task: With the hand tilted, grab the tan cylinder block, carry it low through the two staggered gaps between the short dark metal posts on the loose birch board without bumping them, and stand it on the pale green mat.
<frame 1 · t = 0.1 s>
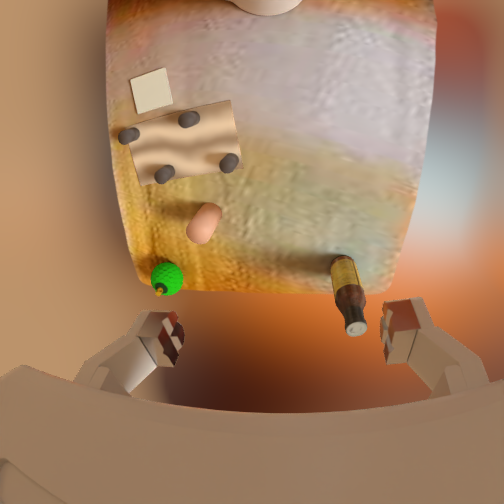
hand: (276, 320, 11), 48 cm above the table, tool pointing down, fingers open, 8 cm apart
tan cylinder block: (210, 213, 63), on the table
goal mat: (151, 91, 50), on the table
ornament: (173, 268, 73), on the table
sauce bottle: (343, 265, 65), on the table
post board: (181, 144, 56), on the table
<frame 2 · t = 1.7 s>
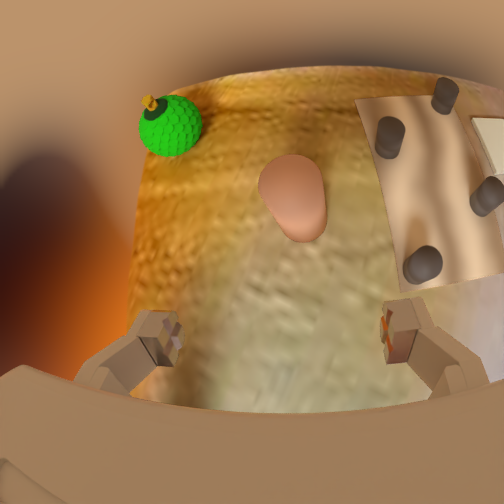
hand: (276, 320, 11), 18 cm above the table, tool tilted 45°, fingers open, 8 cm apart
tan cylinder block: (303, 219, 30), on the table
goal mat: (503, 146, 24), on the table
ornament: (185, 142, 37), on the table
post board: (434, 177, 27), on the table
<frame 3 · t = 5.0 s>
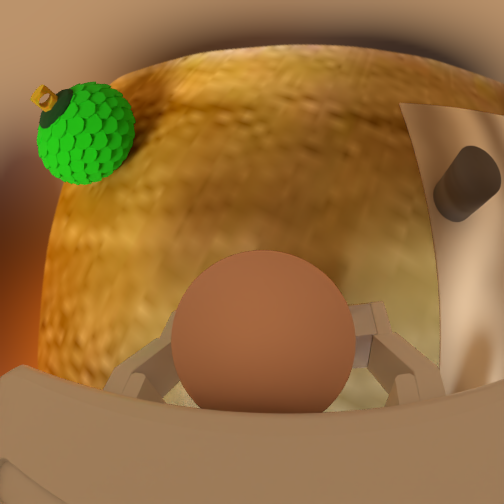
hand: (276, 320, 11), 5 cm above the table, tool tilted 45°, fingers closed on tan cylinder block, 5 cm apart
tan cylinder block: (290, 331, 16), on the table, touching gripper
ornament: (115, 158, 22), on the table
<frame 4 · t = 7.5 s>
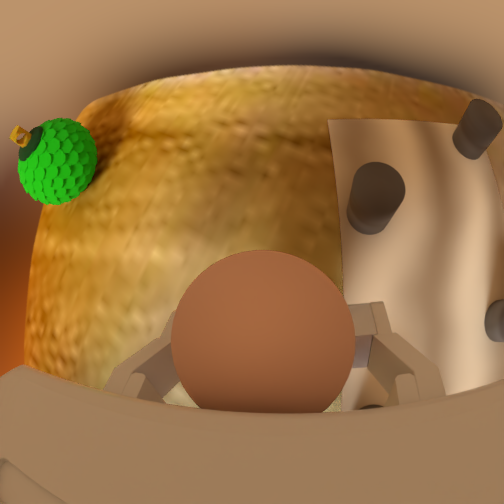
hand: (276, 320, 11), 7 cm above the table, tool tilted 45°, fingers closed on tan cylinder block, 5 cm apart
tan cylinder block: (290, 331, 16), point 2 cm above the table, touching gripper
ornament: (85, 179, 25), on the table
post board: (438, 270, 17), on the table
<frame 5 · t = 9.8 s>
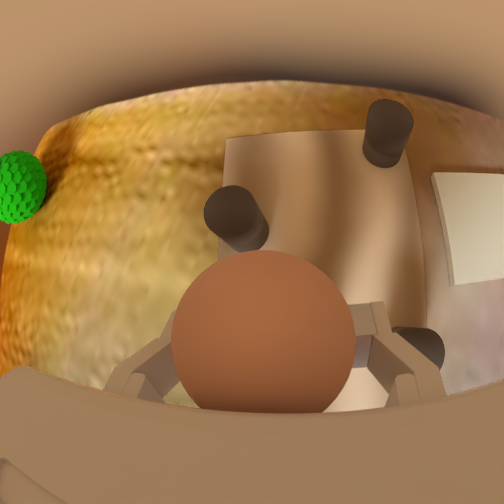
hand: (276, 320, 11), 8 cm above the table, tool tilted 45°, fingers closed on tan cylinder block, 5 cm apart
tan cylinder block: (290, 331, 16), point 2 cm above the table, touching gripper
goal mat: (483, 226, 16), on the table
ornament: (41, 200, 27), on the table
post board: (322, 291, 18), on the table
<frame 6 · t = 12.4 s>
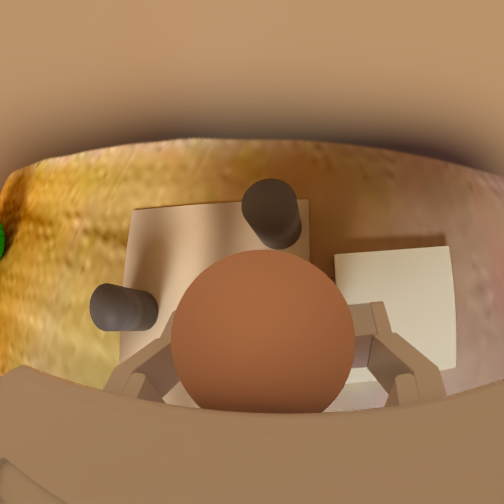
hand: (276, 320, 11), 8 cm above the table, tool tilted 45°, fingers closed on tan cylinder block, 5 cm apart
tan cylinder block: (290, 331, 16), point 2 cm above the table, touching gripper
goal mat: (397, 314, 16), on the table
ornament: (3, 249, 27), on the table
post board: (204, 372, 19), on the table
when the fingers open (7 cm above the table, at t = 14.7 s): tan cylinder block stays where it is, resting on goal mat.
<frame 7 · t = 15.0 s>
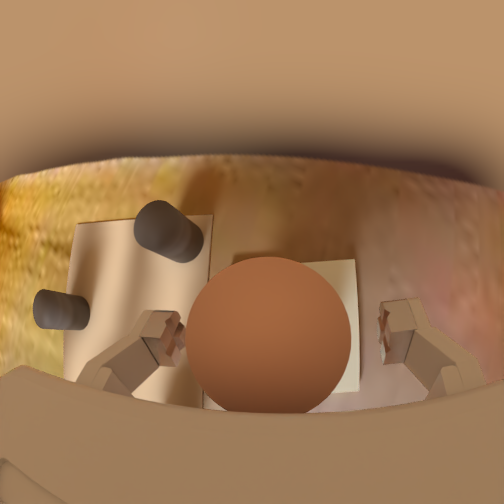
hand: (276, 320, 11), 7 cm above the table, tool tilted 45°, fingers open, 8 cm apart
tan cylinder block: (291, 330, 17), point 1 cm above the table, touching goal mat
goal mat: (292, 329, 17), on the table
post board: (124, 370, 20), on the table
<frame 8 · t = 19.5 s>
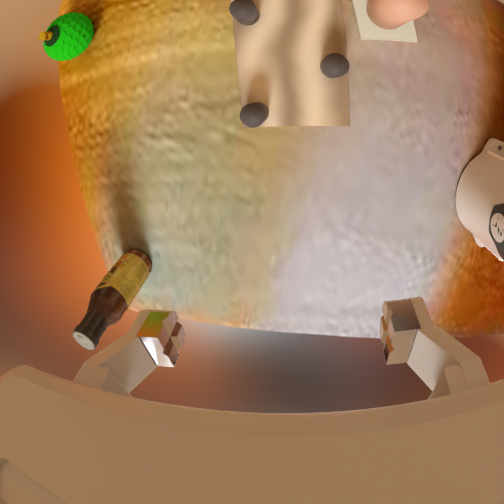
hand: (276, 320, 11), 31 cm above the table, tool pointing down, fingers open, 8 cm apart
tan cylinder block: (384, 13, 24), point 1 cm above the table, touching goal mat
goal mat: (383, 14, 24), on the table
ornament: (85, 37, 30), on the table
sauce bottle: (138, 261, 51), on the table
post board: (290, 40, 29), on the table
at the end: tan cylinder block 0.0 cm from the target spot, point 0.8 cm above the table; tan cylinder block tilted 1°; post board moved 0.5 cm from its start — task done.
